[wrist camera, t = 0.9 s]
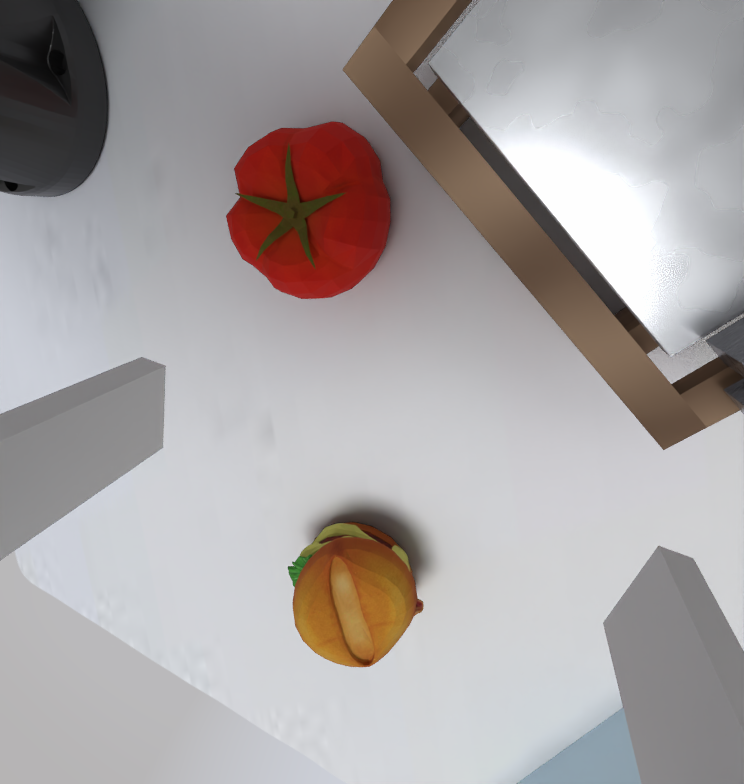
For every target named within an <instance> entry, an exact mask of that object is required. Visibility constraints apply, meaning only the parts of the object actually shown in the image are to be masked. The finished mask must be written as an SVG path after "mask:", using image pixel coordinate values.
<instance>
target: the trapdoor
mask: <svg viewBox="0 0 744 784" xmlns="http://www.w3.org/2000/svg"><path fill="white" fill-rule="evenodd" d="M429 65H430V67H431V69H432V71H433V72H434V74H435V75H436V76H437V77H438V79H439V80H440V81H441V82H442V83H443V85H444V86H445V87H446V88H447V89H448V91H449V92H450V93H451V94H452V96H453V97H454V98H455V99H456V100H457V102H458V103H459V104H460V105H461V106H462V108H463V109H464V110H465V111H466V113H467V114H468V115H469V116H470V117H471V119H472V120H473V121H474V122H475V123H476V125H477V126H478V127H479V128H480V130H481V131H482V132H483V133H484V134H485V136H486V137H487V138H488V139H489V140H490V142H491V143H492V144H493V145H494V146H495V148H496V149H497V150H498V151H499V153H500V154H501V155H502V156H503V157H504V159H505V160H506V161H507V162H508V163H509V165H510V166H511V167H512V168H513V170H514V171H515V172H516V173H517V174H518V176H519V177H520V178H521V179H522V180H523V182H524V183H525V184H526V185H527V186H528V188H529V189H530V190H531V191H532V193H533V194H534V195H535V196H536V197H537V199H538V200H539V201H540V202H541V203H542V205H543V206H544V207H545V208H546V210H547V211H548V212H549V213H550V214H551V216H552V217H553V218H554V219H555V220H556V222H557V223H558V224H559V225H560V226H561V228H562V229H563V230H564V231H565V233H566V234H567V235H568V236H569V237H570V239H571V240H572V241H573V242H574V243H575V245H576V246H577V247H578V248H579V250H580V251H581V252H582V253H583V254H584V256H585V257H586V258H587V259H588V260H589V262H590V263H591V264H592V265H593V267H594V268H595V269H596V270H597V271H598V273H599V274H600V275H601V276H602V277H603V279H604V280H605V281H606V282H607V283H608V285H609V286H610V287H611V288H612V290H613V291H614V292H615V293H616V294H617V296H618V297H619V298H620V299H621V300H622V302H623V303H624V304H625V305H626V307H627V308H628V309H629V310H630V311H631V313H632V314H633V315H634V316H635V317H636V319H637V320H638V321H639V322H640V323H641V325H642V326H643V327H644V328H645V330H646V331H647V332H648V333H649V334H650V336H651V337H652V338H653V339H654V340H655V342H656V343H657V344H658V345H659V347H660V348H661V349H662V350H663V351H664V352H666V353H667V354H668V355H669V356H670V357H672V356H674V355H675V354H677V353H679V352H680V351H682V350H684V349H685V348H687V347H688V346H690V345H692V344H693V343H695V342H697V341H698V340H700V339H701V338H703V337H705V336H706V335H708V334H710V333H711V332H713V331H715V330H716V329H718V328H719V327H721V326H723V325H724V324H726V323H728V322H729V321H731V320H732V319H734V318H736V317H737V316H739V315H741V314H742V313H744V0H479V2H478V3H477V4H476V5H475V6H474V8H473V9H472V10H471V11H470V13H469V14H468V15H467V16H466V17H465V19H464V20H463V21H462V22H461V24H460V25H459V26H458V27H457V28H456V30H455V31H454V32H453V33H452V35H451V36H450V37H449V38H448V39H447V41H446V42H445V43H444V44H443V46H442V47H441V48H440V49H439V50H438V52H437V53H436V54H435V55H434V57H433V58H432V59H431V60H430V61H429ZM706 342H707V343H708V344H709V345H710V347H711V348H712V349H713V350H714V352H715V353H716V354H717V355H718V356H719V358H720V359H721V360H722V361H723V363H724V364H725V365H727V366H728V367H730V368H731V369H733V370H734V371H736V372H737V373H738V374H740V375H741V376H743V377H744V317H743V318H742V319H740V320H739V321H737V322H735V323H734V324H732V325H730V326H729V327H727V328H725V329H724V330H722V331H720V332H719V333H717V334H716V335H714V336H712V337H711V338H709V339H707V340H706ZM723 390H724V391H725V392H726V393H727V395H728V396H729V397H730V398H731V399H732V401H733V402H734V403H735V404H736V406H737V407H738V408H739V409H740V410H741V412H742V413H743V414H744V378H743V379H741V380H740V381H738V382H736V383H734V384H732V385H730V386H729V387H727V388H725V389H723Z"/></svg>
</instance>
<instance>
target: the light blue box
mask: <svg viewBox="0 0 744 784" xmlns="http://www.w3.org/2000/svg"><path fill="white" fill-rule="evenodd" d="M517 784H641V780H640V776H639V771H638V767H637V763H636V759H635V755H634V750H633V746H632V742H631V738H630V734H629V729H628V725H627V721H626V717H625V712H624V708H622V709H620V710H619V711H618V712H616V713H615V714H613V715H612V716H611V717H609V718H608V719H606V720H605V721H604V722H602V723H601V724H599V725H598V726H597V727H595V728H594V729H592V730H591V731H590V732H588V733H587V734H585V735H584V736H583V737H581V738H580V739H578V740H577V741H576V742H574V743H573V744H571V745H570V746H569V747H567V748H566V749H564V750H563V751H562V752H560V753H559V754H557V755H556V756H555V757H553V758H552V759H550V760H549V761H548V762H546V763H545V764H543V765H542V766H541V767H539V768H538V769H536V770H535V771H534V772H532V773H531V774H529V775H528V776H527V777H525V778H524V779H522V780H521V781H520V782H518V783H517Z"/></svg>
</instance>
